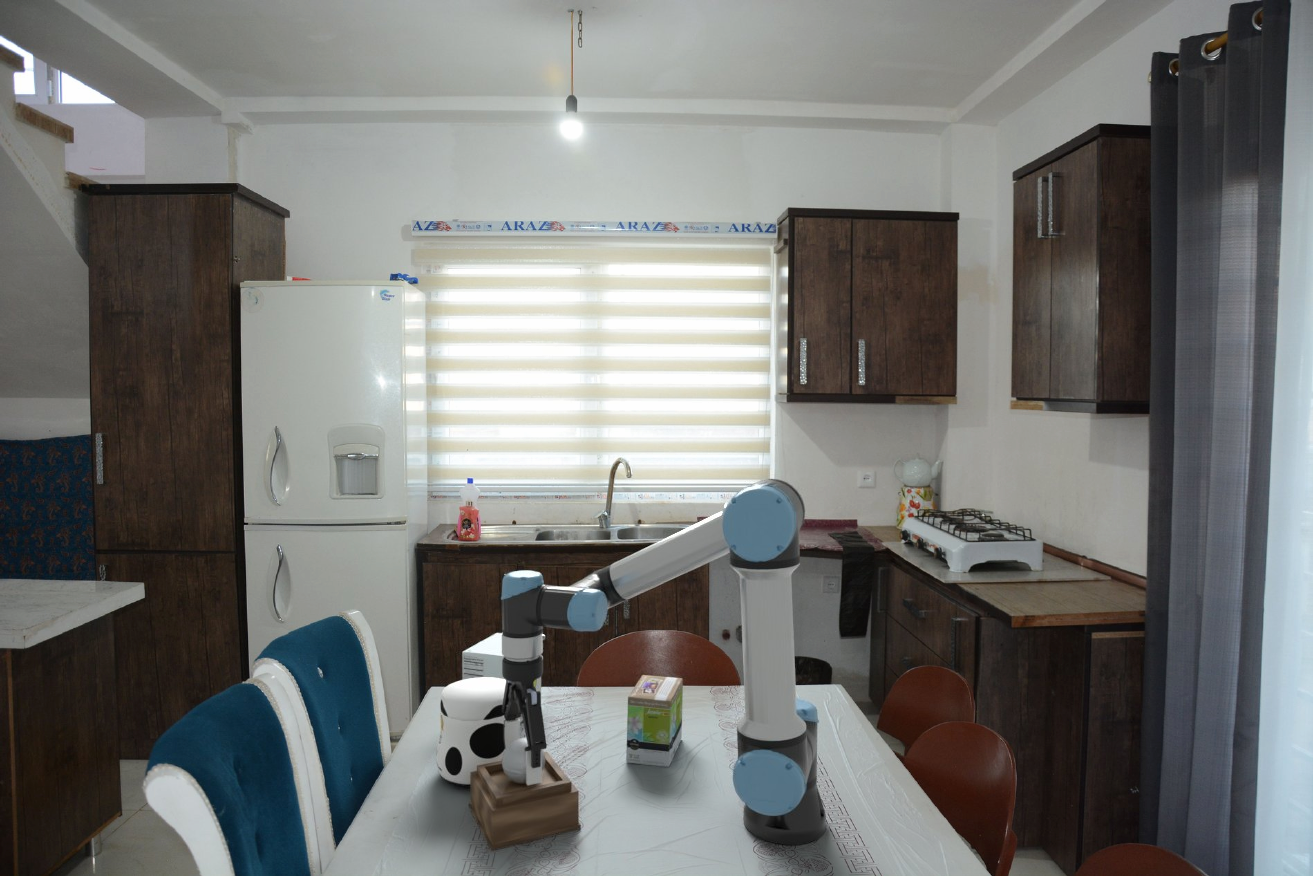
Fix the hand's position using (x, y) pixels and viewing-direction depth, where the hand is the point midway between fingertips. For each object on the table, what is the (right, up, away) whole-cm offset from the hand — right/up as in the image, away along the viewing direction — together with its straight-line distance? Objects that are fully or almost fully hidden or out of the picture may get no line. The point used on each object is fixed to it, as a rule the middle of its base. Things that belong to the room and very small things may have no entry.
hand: (523, 768), depth 152 cm
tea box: (+25, -8, +30) cm, 39 cm away
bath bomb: (0, -3, 0) cm, 3 cm away
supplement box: (-13, -7, +49) cm, 51 cm away
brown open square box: (0, -10, +1) cm, 10 cm away
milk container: (-12, -9, +18) cm, 23 cm away
